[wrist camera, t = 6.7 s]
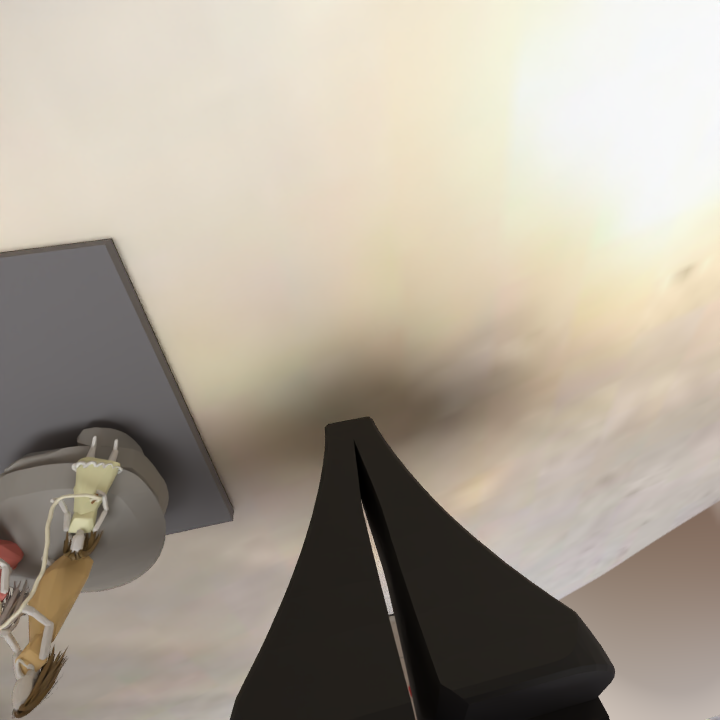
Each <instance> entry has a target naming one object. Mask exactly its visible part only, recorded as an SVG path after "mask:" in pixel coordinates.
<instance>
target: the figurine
mask: <svg viewBox="0 0 720 720" xmlns="http://www.w3.org/2000/svg"><path fill="white" fill-rule="evenodd" d="M77 444H78V446H74V447H67V448H60V449H53V450H47V451H40V452H33V453H29V454H26V455H24V456H23V457H21V458H19V459H18V460H16V461H15V462H13V463H12V464H11V465H10V466H8V467H7V468H6V469H5V470H4V473H2V474H0V637H4V639H5V640H6V642H7V643H8V645H9V646H10V647H11V649H12V650H13V652H14V655H13V664H14V672H15V677H16V680H18V681H17V682H16V684H15V686H14V689H13V693H12V703H13V707H14V710H13V712H12V718H15V717H16V718H21V717H24V716H26V715H27V714H29V713H30V712H31V711H32V710H34V708H35V707H37V705H38V704H39V703H40V702H41V701H43V700H44V699H45V698H46V697H45V696H46V694H47V693H48V692H49V690H50V689H51V688H52V686H53V685H54V683H55V681H56V680H55V679H57V678H56V677H58V674H59V672H60V670H61V668H62V666H63V664H64V663H65V662H66V661H64V660H65V659H64V658H63V656H65V655H64V654H65V652H66V650H67V649H66V650H65V652H64V653H63V655H62V654H61V655H62V657H61V658H60V656H61V655H60V656H59V654H60V652H59V654H58V656H57V657H56V659H55V661H54V657H55V654H54V647H53V650H52V653H51V656H50V654H49V653H50V647H51V643H52V642H53V641H54V639H55V638H56V636H57V634H58V632H59V630H60V628H61V627H62V625H63V623H64V621H65V619H66V617H67V616H68V614H69V612H70V610H71V608H72V606H73V605H74V603H75V601H76V599H77V597H78V595H79V594H80V592H98V591H105V590H109V589H113V588H116V587H119V586H122V585H125V584H127V583H130V582H132V581H133V580H135V579H137V578H138V577H140V576H141V575H143V574H144V573H145V572H146V571H148V570H149V569H150V568H151V567H152V565H153V564H154V563H155V562H156V560H157V559H158V557H159V556H160V553H161V551H162V548H163V545H164V541H165V535H166V522H165V518H164V515H165V512H166V509H167V506H168V500H169V494H168V489H167V485H166V483H165V481H164V479H163V478H162V476H161V475H160V474H159V472H158V471H157V469H156V468H155V466H154V465H153V464H152V463H151V462H150V460H149V459H148V458H147V457H146V456H144V453H143V451H142V449H141V447H140V446H139V445H138V444H137V443H136V441H134V440H133V439H132V438H131V437H130V436H129V435H127V434H126V433H124V432H121V431H119V430H116V429H111V428H99V427H93V428H88V429H83V430H82V432H81V433H80V434H79V436H78V437H77ZM9 587H11V588H13V595H12V597H11V592H10V596H9V591H8V590H10V588H9ZM19 590H20V591H21V592H20V591H19ZM7 592H8V595H7ZM25 592H27V593H25ZM29 592H30V594H29ZM20 593H21V594H20ZM24 595H25V597H24ZM5 597H6V603H4V601H3V600H4V599H5ZM8 597H9V599H8ZM27 603H28V605H27ZM3 605H5V606H3ZM3 607H4V609H3V612H2V608H3ZM26 614H27V615H29V644H28V645H27V646H26V647H25V649H24V650H23V651H22V650H20V647H19V645H18V643H17V641H16V640H15V638H14V637H13V635H12V634H11V631H12V630H13V629H14V628H15V627H16V626H17V624H18V622H19V619H20V617H21V616H22V615H23V616H24V615H26ZM13 623H14V625H13V626H12V627H11V625H12V624H13ZM54 645H55V644H54ZM67 648H68V647H67ZM53 655H54V656H53ZM48 656H49V657H48ZM58 657H59V658H60V659H59V658H58ZM66 657H67V656H66ZM47 658H48V661H47ZM62 659H64V660H63V662H64V663H63V662H62ZM67 659H68V658H67ZM58 660H59V661H58ZM53 661H54V662H53ZM46 662H47V663H46ZM61 662H62V663H63V664H62V663H61ZM60 664H61V665H62V666H61V665H60ZM65 664H66V663H65ZM41 667H42V668H41ZM40 668H41V670H40ZM59 668H60V669H59ZM40 671H41V672H40ZM61 677H62V676H61ZM57 682H58V681H57ZM57 682H56V683H57ZM54 686H55V685H54ZM54 686H53V687H54ZM57 689H58V688H57ZM51 690H52V689H51ZM51 690H50V691H51ZM49 693H50V692H49ZM49 693H48V694H49ZM48 694H47V695H48ZM50 696H51V695H50ZM44 697H45V698H44ZM43 698H44V699H43ZM46 699H47V698H46ZM41 703H42V702H41Z"/></svg>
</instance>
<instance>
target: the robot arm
mask: <svg viewBox="0 0 720 720" xmlns="http://www.w3.org/2000/svg"><path fill="white" fill-rule="evenodd" d="M361 500H362V503H361ZM362 504H363V507H364V510H365V513H366V516H367V520H368V523H369V526H370V529H371V532H372V536H373V539H374V542H375V545H376V548H377V551H378V555H379V558H380V561H381V564H382V567H383V571H384V574H385V578H386V582H387V585H388V590H389V594H390V599H391V603H392V607H393V612H394V616H395V621H396V625H397V630H398V634H399V639H400V643H401V648H402V652H403V657H404V662H405V666H406V671H407V675H408V680H409V685H410V689H411V694H412V699H413V703H414V708H415V713H416V717H417V720H610V719H609V716H608V714H607V712H606V710H605V708H604V707H603V705H602V703H601V701H600V699H599V697H598V696H599V695H600V694H601V693H602V692H603V690H604V689H605V688H606V687H607V686H608V685H609V684H610V683H611V681H612V680H613V678H614V675H615V669H614V666H613V664H612V663H611V661H610V660H609V658H608V656H607V654H606V653H605V651H604V650H603V648H602V646H601V645H600V644H599V642H598V641H597V639H596V638H595V637H594V635H593V634H592V633H591V631H590V630H589V629H588V627H587V626H586V625H585V623H584V622H583V621H582V620H581V618H580V617H579V616H578V614H577V613H576V612H575V611H573V610H572V609H570V608H569V607H567V606H566V605H564V604H563V603H561V602H560V601H558V600H557V599H555V598H554V597H552V596H551V595H549V594H548V593H547V592H545V591H544V590H542V589H541V588H539V587H538V586H537V585H535V584H534V583H532V582H531V581H530V580H528V579H527V578H526V577H524V576H523V575H521V574H520V573H519V572H517V571H516V570H515V569H513V568H512V567H511V566H509V565H508V564H507V563H505V562H504V561H503V560H502V559H501V558H499V557H498V556H497V555H496V554H494V553H493V552H492V551H491V550H489V549H488V548H487V547H486V546H485V545H483V544H482V543H481V542H480V541H478V540H477V539H476V538H475V537H474V536H472V535H471V534H470V533H469V532H468V531H467V530H466V529H465V528H463V527H462V526H461V525H460V524H459V523H458V522H457V521H456V520H455V519H454V518H453V517H452V516H450V515H449V514H448V513H447V512H446V511H445V510H444V509H443V508H442V507H441V506H440V505H439V504H438V503H437V502H436V501H435V500H434V499H433V498H432V497H431V496H430V495H429V493H428V492H427V491H426V490H425V489H424V488H423V487H422V486H421V485H420V484H419V482H418V481H417V480H416V479H415V478H414V477H413V476H412V474H411V473H410V472H409V471H408V470H407V468H406V467H405V466H404V465H403V463H402V462H401V461H400V460H399V458H398V457H397V456H396V454H395V453H394V452H393V451H392V449H391V448H390V446H389V445H388V444H387V442H386V441H385V439H384V438H383V436H382V435H381V433H380V432H379V430H378V428H377V427H376V425H375V423H374V421H373V419H372V418H370V417H363V418H358V419H353V420H347V421H342V422H337V423H332V424H328V425H327V426H326V427H325V452H324V461H323V467H322V473H321V479H320V484H319V489H318V494H317V498H316V502H315V506H314V510H313V514H312V518H311V521H310V525H309V528H308V531H307V535H306V538H305V541H304V544H303V547H302V550H301V553H300V556H299V559H298V561H297V564H296V567H295V570H294V572H293V575H292V578H291V580H290V583H289V585H288V588H287V591H286V593H285V595H284V598H283V600H282V602H281V605H280V607H279V609H278V612H277V614H276V616H275V618H274V621H273V623H272V625H271V628H270V630H269V632H268V634H267V637H266V639H265V641H264V643H263V645H262V647H261V649H260V651H259V653H258V655H257V657H256V659H255V661H254V663H253V665H252V667H251V669H250V671H249V673H248V675H247V677H246V679H245V681H244V683H243V685H242V687H241V689H240V691H239V693H238V695H237V697H236V700H235V703H234V707H233V710H232V714H231V718H230V720H416V719H415V715H414V711H413V706H412V702H411V698H410V695H409V691H408V687H407V683H406V680H405V676H404V672H403V669H402V665H401V661H400V657H399V653H398V650H397V646H396V642H395V638H394V634H393V631H392V627H391V623H390V619H389V615H388V611H387V607H386V603H385V599H384V595H383V592H382V588H381V584H380V580H379V576H378V572H377V568H376V564H375V560H374V555H373V551H372V547H371V543H370V539H369V535H368V531H367V527H366V522H365V518H364V514H363V509H362ZM706 720H720V715H719V716H715V717H712V718H709V719H706Z"/></svg>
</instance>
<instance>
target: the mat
mask: <svg viewBox="0 0 720 720" xmlns="http://www.w3.org/2000/svg"><path fill="white" fill-rule="evenodd" d="M93 427H99V428H111V429H116V430H119V431H121V432H124V433H126V434H127V435H129V436H130V437H131V438H132V439H133V440H134V441H136V443H137V444H138V445H139V446H140V447H141V449H142V451H143V453H144V456H146V457H147V458H148V459H149V460H150V462H151V463H152V464H153V465H154V466H155V468H156V469H157V471H158V472H159V474H160V475H161V476H162V478H163V479H164V481H165V483H166V485H167V489H168V494H169V500H168V506H167V509H166V512H165V515H164V518H165V522H166V535H168V534H173V533H178V532H182V531H187V530H192V529H196V528H201V527H206V526H210V525H215V524H220V523H224V522H229V521H233V513H234V511H233V508H232V506H231V504H230V502H229V499H228V497H227V495H226V493H225V491H224V488H223V486H222V484H221V482H220V479H219V477H218V475H217V473H216V471H215V468H214V466H213V464H212V462H211V459H210V457H209V455H208V453H207V451H206V448H205V446H204V444H203V442H202V439H201V437H200V435H199V433H198V431H197V428H196V426H195V424H194V422H193V419H192V417H191V415H190V413H189V411H188V408H187V406H186V404H185V402H184V399H183V397H182V395H181V393H180V391H179V388H178V386H177V384H176V382H175V379H174V377H173V375H172V373H171V371H170V368H169V366H168V364H167V362H166V359H165V357H164V355H163V353H162V351H161V348H160V346H159V344H158V342H157V339H156V337H155V335H154V333H153V331H152V328H151V326H150V324H149V322H148V319H147V317H146V315H145V313H144V311H143V308H142V306H141V304H140V302H139V299H138V297H137V295H136V293H135V291H134V288H133V286H132V284H131V282H130V279H129V277H128V275H127V273H126V271H125V268H124V266H123V264H122V262H121V259H120V257H119V255H118V253H117V251H116V248H115V246H114V244H113V242H112V239H106V240H99V241H91V242H83V243H75V244H67V245H59V246H51V247H43V248H35V249H27V250H19V251H11V252H3V253H0V474H2V473H4V470H5V469H6V468H7V467H8V466H10V465H11V464H12V463H13V462H15V461H16V460H18V459H19V458H21V457H23V456H24V455H26V454H29V453H33V452H40V451H47V450H53V449H60V448H67V447H74V446H78V444H77V437H78V436H79V434H80V433H81V432H82V430H83V429H88V428H93Z"/></svg>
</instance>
